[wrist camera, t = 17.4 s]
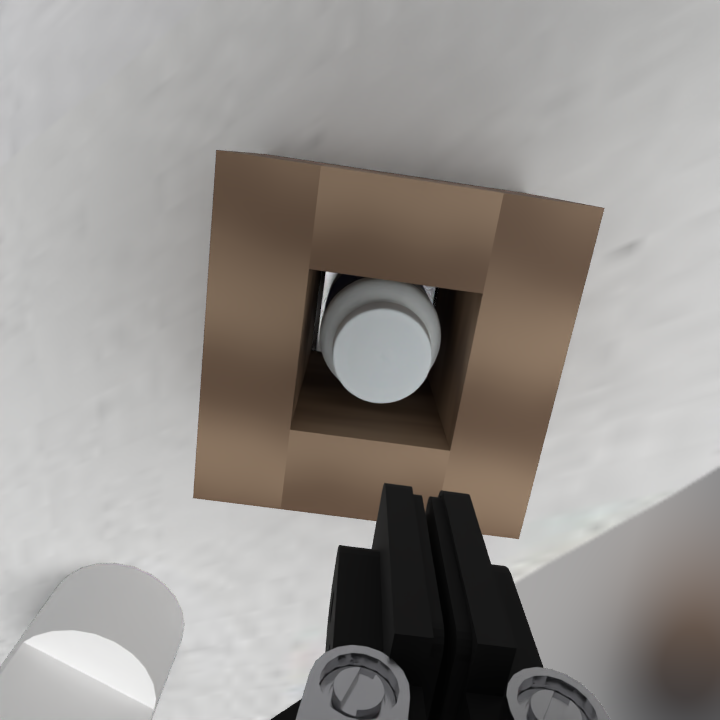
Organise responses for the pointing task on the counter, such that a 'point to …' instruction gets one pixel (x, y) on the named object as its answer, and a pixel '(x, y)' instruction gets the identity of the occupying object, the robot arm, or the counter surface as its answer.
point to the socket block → (445, 378)
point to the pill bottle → (379, 336)
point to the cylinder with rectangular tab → (95, 649)
